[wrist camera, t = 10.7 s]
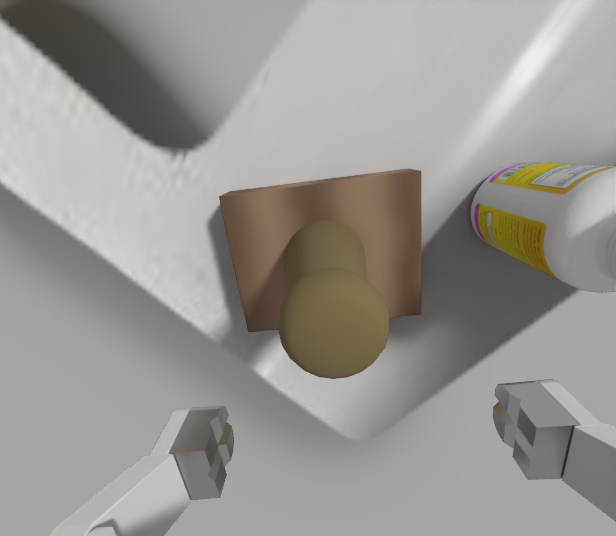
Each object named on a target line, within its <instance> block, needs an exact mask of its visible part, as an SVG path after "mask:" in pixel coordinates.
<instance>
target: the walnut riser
mask: <svg viewBox="0 0 616 536" xmlns="http://www.w3.org/2000/svg"><path fill="white" fill-rule="evenodd" d="M219 199H220V204H221V208H222V213H223V217H224V222H225V227H226V231H227V236H228V240H229V245H230V250H231V254H232V259H233V263H234V268H235V273H236V277H237V282H238V286H239V291H240V296H241V300H242V305H243V309H244V314H245V319H246V323H247V328H248V332H256V331H265V330H275V329H278V319H279V313H280V307H281V303H282V302H283V300H284V298H285V296H286V294H287V293H288V291H289V285H288V279H287V272H286V266H285V260H284V259H285V253H286V247H287V245H288V243H289V241H290V239H291V237H292V236H293V235H294V234H295V233H296V232H297V231H298V230H299V229H300V228H301V227H303V226H305V225H308V224H310V223H312V222H315V221H322V220H329V221H335V222H340V223H342V224H343V225H345V226H347V227H349V228H351V229H352V230H353V231H354V232H355V234H356V235H357V236H358V237H359V238H360V240H361V243H362V245H363V247H364V252H365V261H366V271H367V280H368V281H369V282H370V283H371V284H372V285H373V286H374V287H375V288H376V289H377V290H378V291H379V292H380V294H381V296H382V298H383V300H384V303H385V305H386V307H387V309H388V313H389V318H390V317H400V316H409V315H419V314H421V171H418V170H413V169H403V170H395V171H387V172H379V173H371V174H363V175H356V176H348V177H340V178H332V179H324V180H316V181H308V182H301V183H293V184H285V185H277V186H269V187H261V188H254V189H246V190H238V191H230V192H228V193H225V194H223V195H221V196H219Z"/></svg>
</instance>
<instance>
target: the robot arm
mask: <svg viewBox="0 0 616 536" xmlns="http://www.w3.org/2000/svg"><path fill="white" fill-rule="evenodd" d="M495 396H496V397H497V399H498V400H499V402H498V403H497V404H496V405H495V406H494V407H493V419H494V423H495V427H496V429H497V431H498V434H499V435H500V437H501V439H502V440H503V442H504V443H506V444H508V445H509V446H510V447H512V448H514V451H513V458H514V459H515V461H516V462H517V464H518V465H519V467H520V469H521V470H522V472H523V473H524V475H525V476H526V478H527V479H528V480H535V479H562V481H564V482H565V483H566V484H568V485H569V486H570V487H571V488H573V489H574V490H575V491H577V492H578V493H579V494H580V495H582V496H583V497H585V498H586V499H587V500H588V501H590V502H591V503H593V504H594V505H595V506H596V507H597V508H599V509H600V510H601V511H603V512H604V513H606V514H607V515H608V516H609V517H611V518H612V519H613V520H615V521H616V427H614V426H612V425H610V424H602V423H601V422H600V421H599V420H598V419H597V418H595V416H593V415H592V414H591V413H590V412H589V411H588V410H587V409H586V408H585V407H584V406H583V405H582V404H581V403H580V402H579V401H578V400H577V399H576V398H575V397H574V396H573V395H572V394H571V393H569V392H568V391H567V390H566V389H565V388H564V387H563V386H562V385H561V384H560V383H559V382H558V381H556V380H554V379H548V380H538V381H528V382H517V383H505V384H498V385H497V387H496V389H495ZM227 418H228V412H227V409H226V407H225V406H210V407H193V408H180V409H176V410H175V411H174V412H173V413H172V415H171V417H170V418H169V420H168V422H167V424H166V426H165V428H164V430H163V431H162V433H161V435H160V437H159V439H158V440H157V443H156V444H155V446H154V448H153V449H152V451H151V453H150V455H146V456H143V457H142V458H141V459H140V460H138V461H137V462H136V463H135V464H133V465H132V466H131V467H130V468H129V469H127V470H126V471H125V472H124V473H123V474H121V475H120V476H119V477H117V478H116V479H115V480H114V481H113V482H111V483H110V484H109V485H108V486H106V487H105V488H104V489H103V490H101V491H100V492H99V493H98V494H96V495H95V496H94V497H93V498H92V499H90V500H89V501H88V502H87V503H85V504H84V505H83V506H82V507H81V508H79V509H78V510H77V511H75V513H73V514H72V515H71V516H69V517H68V518H67V519H66V520H65V521H63V522H62V523H61V524H59V525H58V526H57V527H56V528H55V529H54V531H53V532H52V533H51V535H50V536H164V535H165V534H166V532H167V531H168V530H169V529H170V528H171V526H172V525H173V524H174V522H175V521H176V520H177V519H178V518H179V516H180V515H181V514H182V513H183V511H184V510H185V509H186V508H187V506H188V505H189V504H190V503H191V501H190V500H198V499H210V498H220V496H221V492H222V489H223V485H224V482H225V478H226V475H227V474H226V471H225V467H224V466H225V465H226V464H227V463H228V462H229V461H230V460H231V456H232V453H233V445H234V437H233V430H232V426H231V425H229V424H228V423H227Z"/></svg>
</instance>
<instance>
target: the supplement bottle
mask: <svg viewBox="0 0 616 536" xmlns="http://www.w3.org/2000/svg"><path fill="white" fill-rule="evenodd" d="M471 222H472V225H473V228H474V230H475V232H476V233H477V235H478V236H479V237H480V238H481V239H482V240H483V241H484V242H485V243H487V244H489V245H490V246H492V247H494V248H496V249H498V250H500V251H502V252H504V253H506V254H508V255H510V256H512V257H514V258H516V259H518V260H520V261H522V262H524V263H526V264H528V265H530V266H532V267H534V268H536V269H538V270H540V271H542V272H544V273H546V274H548V275H550V276H552V277H554V278H556V279H558V280H560V281H562V282H564V283H566V284H569V285H571V286H573V287H575V288H578V289H581V290H585V291H591V292H615V291H616V166H605V165H580V164H556V163H518V164H512V165H509V166H506V167H504V168H502V169H500V170H498V171H496V172H495V173H493V174H492V175H491V176H490V177H488V178H487V179H486V180H485V181H484V182H483V184H482V185H481V186H480V188H479V189H478V191H477V192H476V194H475V197H474V199H473V202H472V206H471Z"/></svg>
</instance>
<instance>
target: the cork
mask: <svg viewBox="0 0 616 536" xmlns="http://www.w3.org/2000/svg"><path fill="white" fill-rule="evenodd" d="M284 260H285V266H286V272H287V279H288V285H289V291H288V293H287V294H286V296H285V298H284V300H283V302H282V303H281V307H280V313H279V319H278V329H279V334H280V339H281V343H282V346H283V348H284V349H285V351H286V352H287V354H288V356H289V357H290V359H291V360H293V361H294V362H295V363H296V364H297V365H299V366H300V367H301V368H302V369H303V370H305V371H307V372H309V373H311V374H313V375H316V376H318V377H324V378H331V379H336V378H344V377H349V376H352V375H355V374H357V373H360V372H362V371H363V370H365V369H366V368H367V367H369V366H370V365H371V364H373V363H374V361H375V360H376V359H377V357H378V356H379V355H380V353H381V352H382V351H383V349H384V348H385V345H386V342H387V339H388V335H389V313H388V309H387V307H386V305H385V303H384V300H383V298H382V296H381V294H380V292H379V291H378V290H377V289H376V288H375V287H374V286H373V285H372V284H371V283H370V282H369V281H368V280H367V271H366V261H365V252H364V247H363V245H362V243H361V240H360V238H359V237H358V236H357V235H356V234H355V232H354V231H353V230H352V229H351V228H349V227H347V226H345V225H343V224H342V223H340V222H335V221H329V220H322V221H315V222H312V223H310V224H308V225H305V226H303V227H301V228H300V229H299V230H298V231H297V232H296V233H295V234H294V235H293V236H292V237H291V239H290V241H289V243H288V245H287V247H286V253H285V259H284Z"/></svg>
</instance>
